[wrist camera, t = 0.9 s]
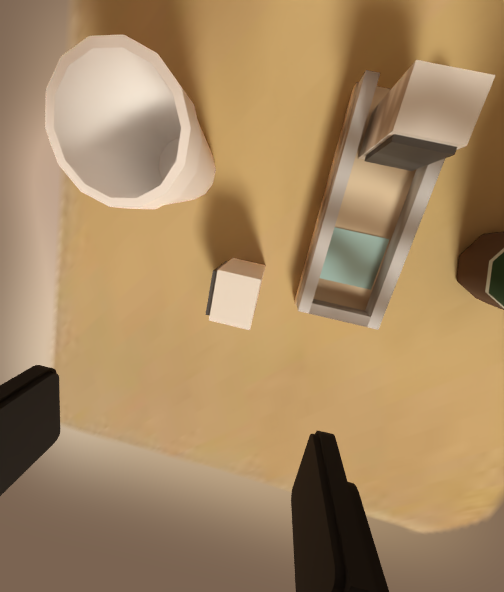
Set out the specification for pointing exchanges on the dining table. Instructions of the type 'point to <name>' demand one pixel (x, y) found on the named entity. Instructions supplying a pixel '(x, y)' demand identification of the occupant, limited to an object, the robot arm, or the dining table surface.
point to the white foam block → (235, 292)
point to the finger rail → (384, 186)
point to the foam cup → (125, 126)
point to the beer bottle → (484, 269)
